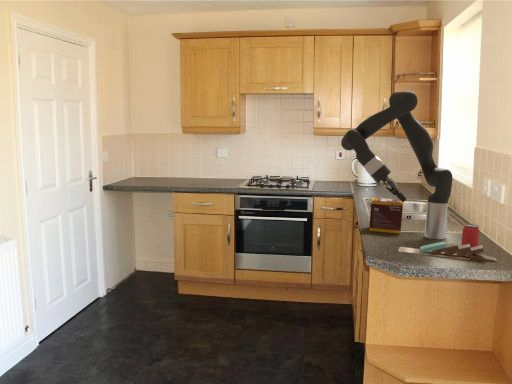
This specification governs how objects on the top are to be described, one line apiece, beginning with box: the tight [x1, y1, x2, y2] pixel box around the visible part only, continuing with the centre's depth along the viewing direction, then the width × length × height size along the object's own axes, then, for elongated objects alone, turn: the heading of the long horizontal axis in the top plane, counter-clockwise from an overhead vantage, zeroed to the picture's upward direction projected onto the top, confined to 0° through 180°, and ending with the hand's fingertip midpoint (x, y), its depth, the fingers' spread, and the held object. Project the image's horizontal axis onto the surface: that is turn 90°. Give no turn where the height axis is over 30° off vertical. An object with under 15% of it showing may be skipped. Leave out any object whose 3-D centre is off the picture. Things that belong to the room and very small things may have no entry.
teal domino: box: [419, 241, 447, 253], centre depth 204 cm, size 2×5×10 cm
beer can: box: [460, 223, 480, 247], centre depth 210 cm, size 7×7×12 cm
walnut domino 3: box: [457, 244, 485, 257], centre depth 199 cm, size 2×5×10 cm
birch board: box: [398, 246, 471, 261], centre depth 204 cm, size 28×8×1 cm, turn 69°
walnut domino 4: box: [468, 253, 498, 263], centre depth 198 cm, size 2×5×10 cm
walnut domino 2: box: [444, 244, 471, 256], centre depth 201 cm, size 2×5×10 cm
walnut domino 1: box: [432, 242, 459, 254], centre depth 202 cm, size 2×5×10 cm
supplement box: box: [368, 197, 404, 234], centre depth 249 cm, size 10×15×16 cm
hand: (404, 200), depth 206 cm, fingers closed
